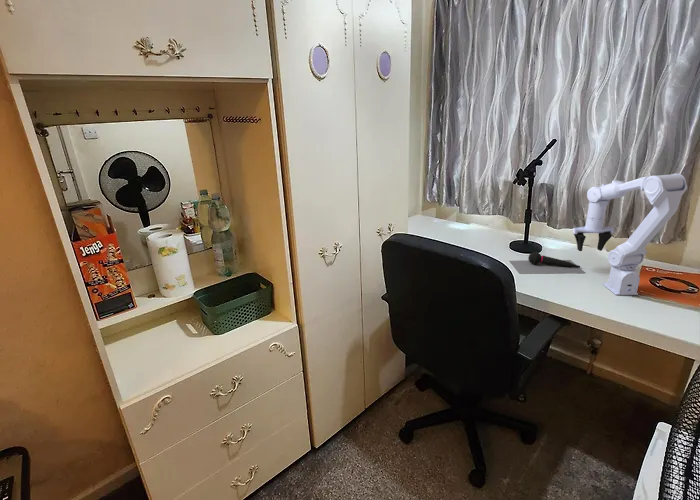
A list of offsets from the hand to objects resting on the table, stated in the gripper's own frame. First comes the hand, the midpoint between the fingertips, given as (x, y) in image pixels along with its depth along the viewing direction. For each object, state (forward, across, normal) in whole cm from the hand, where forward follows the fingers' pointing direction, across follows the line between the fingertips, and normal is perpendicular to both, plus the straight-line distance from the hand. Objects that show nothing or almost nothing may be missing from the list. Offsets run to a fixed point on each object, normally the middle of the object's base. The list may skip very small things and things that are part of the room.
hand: (589, 250), depth 153 cm
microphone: (+10, +11, -6) cm, 15 cm away
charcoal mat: (+9, +14, -6) cm, 17 cm away
